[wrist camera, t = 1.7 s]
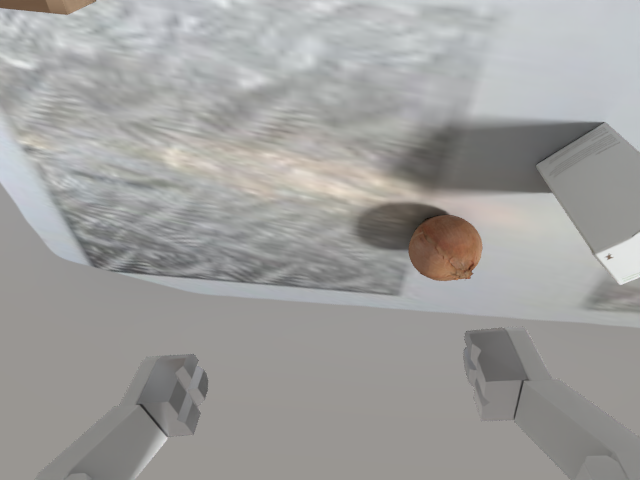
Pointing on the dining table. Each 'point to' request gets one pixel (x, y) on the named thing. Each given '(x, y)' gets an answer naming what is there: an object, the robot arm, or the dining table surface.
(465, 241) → the onion
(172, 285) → the dining table surface
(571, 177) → the skincare box
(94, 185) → the dining table surface
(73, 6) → the two-well holder
